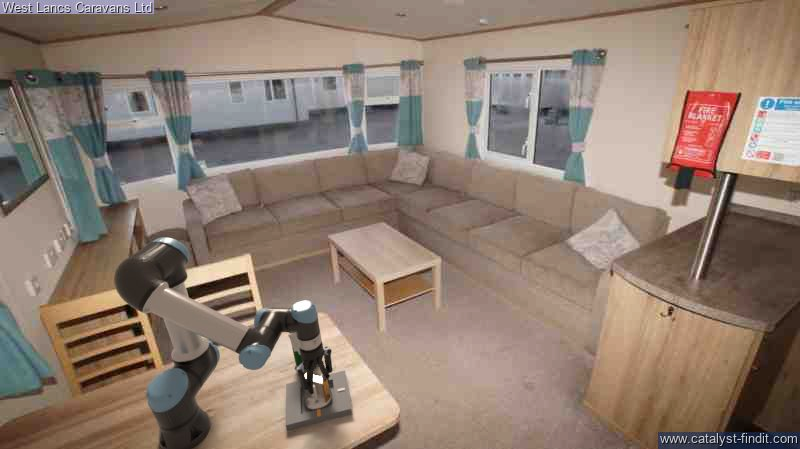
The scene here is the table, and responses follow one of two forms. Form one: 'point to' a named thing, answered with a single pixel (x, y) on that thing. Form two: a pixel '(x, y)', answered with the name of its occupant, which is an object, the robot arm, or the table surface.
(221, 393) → the table surface
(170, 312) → the robot arm
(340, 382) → the panel
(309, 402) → the dial
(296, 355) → the milk carton
